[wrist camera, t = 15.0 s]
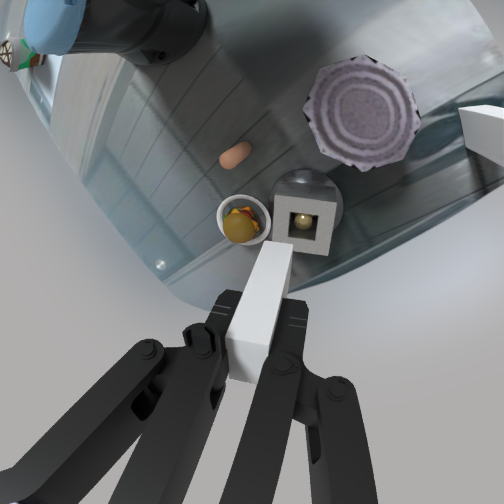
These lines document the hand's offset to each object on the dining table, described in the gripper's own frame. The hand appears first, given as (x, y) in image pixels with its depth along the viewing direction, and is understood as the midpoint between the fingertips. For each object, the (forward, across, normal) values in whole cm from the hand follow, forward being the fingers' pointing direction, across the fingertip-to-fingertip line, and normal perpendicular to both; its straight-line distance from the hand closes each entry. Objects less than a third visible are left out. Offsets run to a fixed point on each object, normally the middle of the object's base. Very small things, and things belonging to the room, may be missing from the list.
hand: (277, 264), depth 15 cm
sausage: (+26, -9, 0) cm, 28 cm away
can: (+27, +6, +8) cm, 28 cm away
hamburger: (+27, -9, -11) cm, 31 cm away
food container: (+27, -56, +29) cm, 68 cm away
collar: (+25, 0, -7) cm, 26 cm away
